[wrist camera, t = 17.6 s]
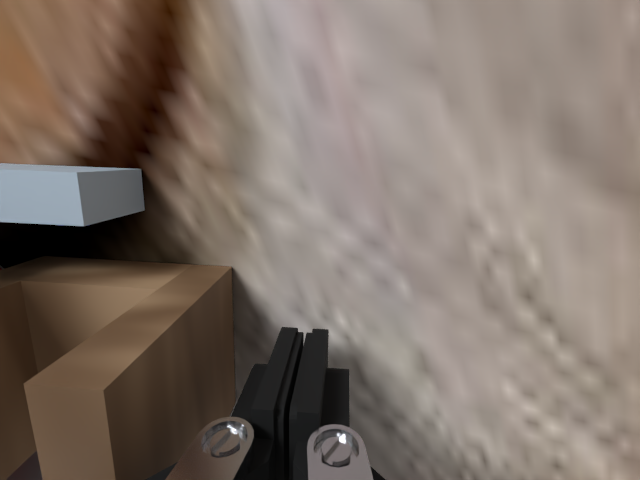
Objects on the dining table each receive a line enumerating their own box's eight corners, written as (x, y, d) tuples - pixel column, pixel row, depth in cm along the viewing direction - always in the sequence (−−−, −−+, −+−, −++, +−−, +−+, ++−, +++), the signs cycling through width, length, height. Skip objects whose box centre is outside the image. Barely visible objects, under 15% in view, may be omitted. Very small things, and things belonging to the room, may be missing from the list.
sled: (231, 266, 13) (103, 390, 6) (235, 402, 14) (135, 625, 7) (44, 256, 13) (-274, 359, 6) (65, 388, 15) (-175, 587, 8)
